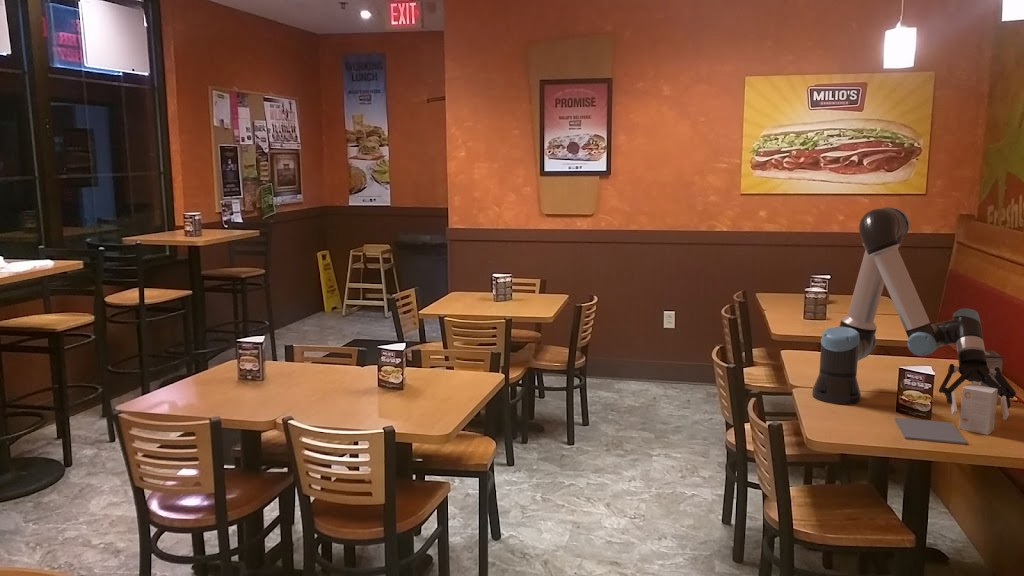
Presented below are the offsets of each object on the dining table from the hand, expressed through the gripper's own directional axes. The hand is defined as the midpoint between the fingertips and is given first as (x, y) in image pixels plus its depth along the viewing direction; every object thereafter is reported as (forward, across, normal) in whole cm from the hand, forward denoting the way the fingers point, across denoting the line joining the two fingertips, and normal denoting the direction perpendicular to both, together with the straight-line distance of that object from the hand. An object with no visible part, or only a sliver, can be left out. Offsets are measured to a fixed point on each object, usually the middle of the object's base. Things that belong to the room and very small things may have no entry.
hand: (980, 415), depth 234 cm
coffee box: (-23, -11, -30) cm, 39 cm away
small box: (+2, 0, -6) cm, 6 cm away
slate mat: (+6, +14, -1) cm, 15 cm away
